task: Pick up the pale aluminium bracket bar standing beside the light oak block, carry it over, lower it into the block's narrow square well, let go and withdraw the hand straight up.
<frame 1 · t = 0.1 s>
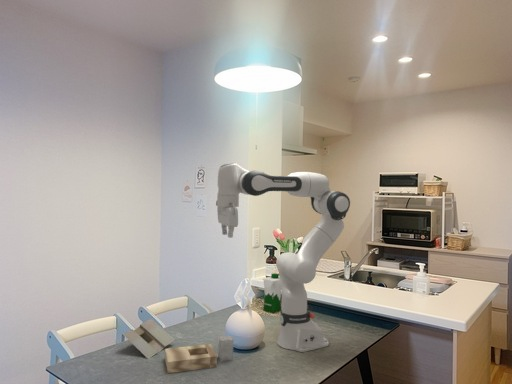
hand: (227, 236, 156), 48 cm above the table, tool pointing down, fingers open, 8 cm apart
oak well block: (190, 362, 146), on the table
milk carton: (272, 311, 211), on the table
metal bracket bar: (225, 358, 150), on the table
beige slotted box: (150, 349, 158), on the table
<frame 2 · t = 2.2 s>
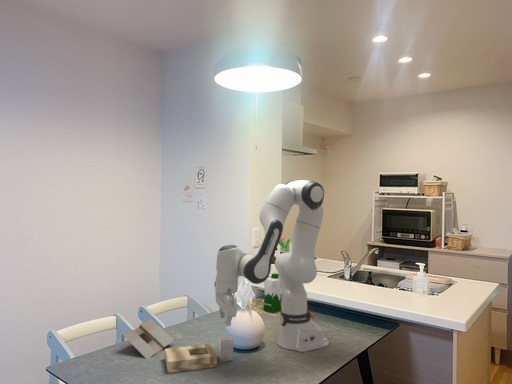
hand: (225, 321, 150), 15 cm above the table, tool pointing down, fingers open, 8 cm apart
nothing on the table moved.
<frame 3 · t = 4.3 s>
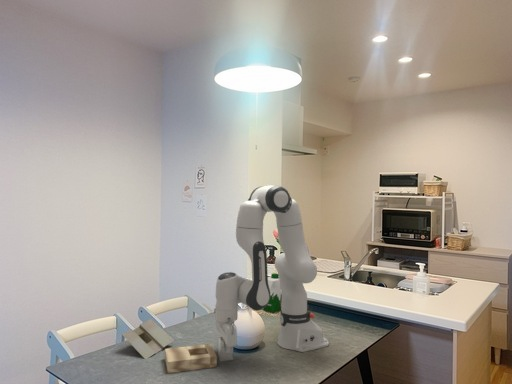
hand: (225, 349, 150), 4 cm above the table, tool pointing down, fingers closed on metal bracket bar, 4 cm apart
metal bracket bar: (225, 358, 150), on the table, touching gripper
everything else where it was.
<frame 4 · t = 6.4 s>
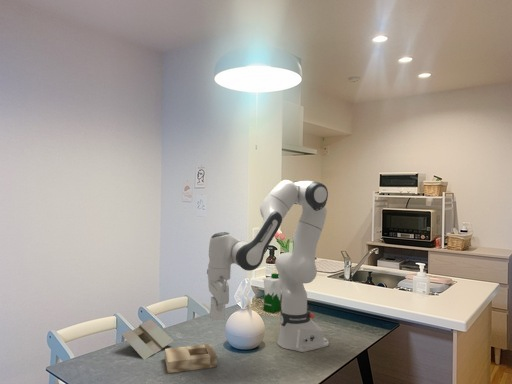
hand: (217, 309, 149), 20 cm above the table, tool pointing down, fingers closed on metal bracket bar, 4 cm apart
metal bracket bar: (217, 318, 149), point 16 cm above the table, touching gripper
everything else where it was.
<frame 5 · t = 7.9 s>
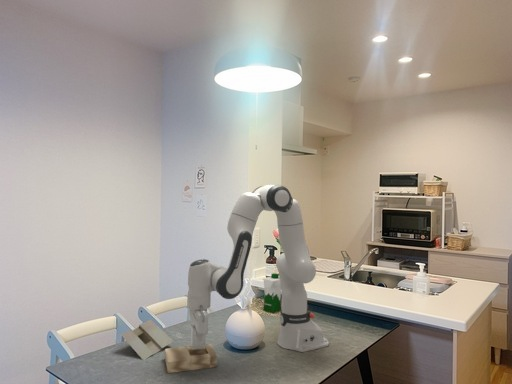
hand: (198, 337, 147), 9 cm above the table, tool pointing down, fingers closed on metal bracket bar, 4 cm apart
metal bracket bar: (197, 347, 147), point 6 cm above the table, touching gripper
everything else where it was.
when the fingers open (6 cm above the table, at t = 9.0 s): metal bracket bar drops 2 cm, resting in oak well block.
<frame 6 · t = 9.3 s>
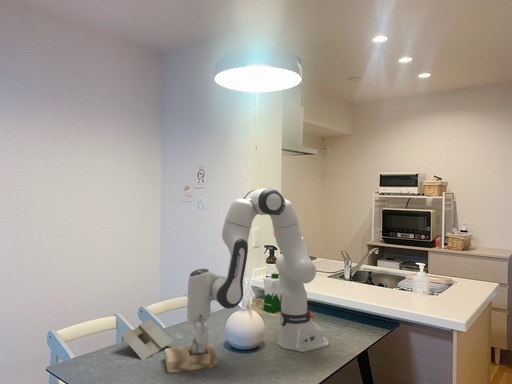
hand: (198, 347, 147), 6 cm above the table, tool pointing down, fingers open, 7 cm apart
metal bracket bar: (198, 361, 147), resting in oak well block
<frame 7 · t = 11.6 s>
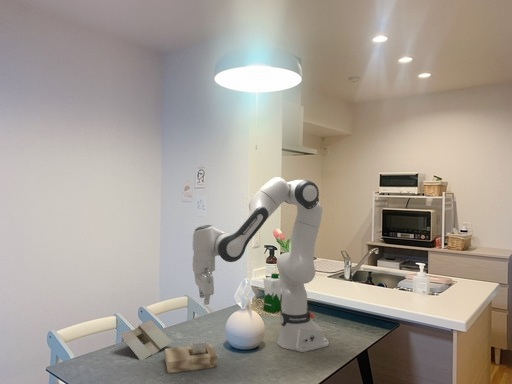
hand: (204, 300, 151), 22 cm above the table, tool pointing down, fingers open, 8 cm apart
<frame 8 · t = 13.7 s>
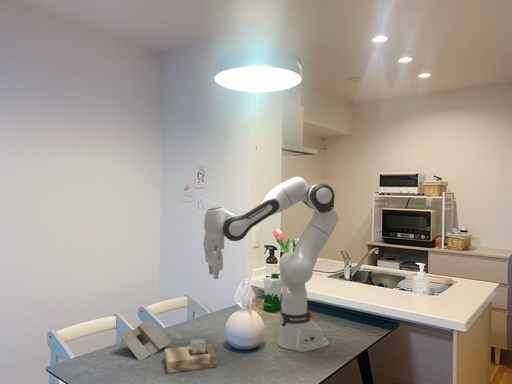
hand: (213, 276, 165), 29 cm above the table, tool pointing down, fingers open, 8 cm apart
at the end: metal bracket bar 0.0 cm from the target spot on the oak well block, point 0.0 cm above the oak well block's base; metal bracket bar tilted 0°; the gripper is holding nothing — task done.
